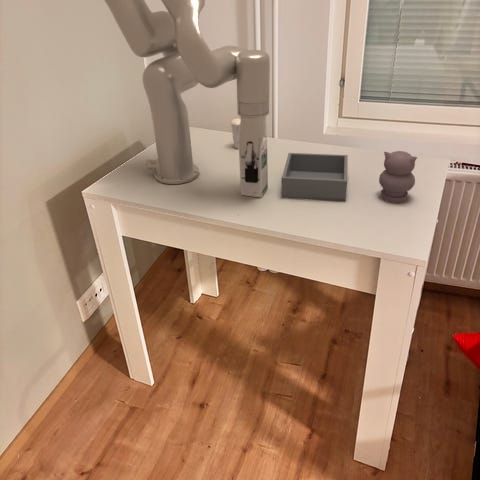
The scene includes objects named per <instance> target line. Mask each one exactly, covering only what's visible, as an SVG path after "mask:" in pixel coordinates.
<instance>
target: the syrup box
mask: <svg viewBox="0 0 480 480" xmlns="http://www.w3.org/2000/svg"><path fill="white" fill-rule="evenodd" d="M238 156H239V158H238V159H239V178H240V179H239V181H240V195H242V196H248V197H251V198H252V197H255V198H262V197H263V196H264V194H265V193H266V191H267V189H268V188H269V186H268V185H269V184H268V183H269V182H268V179H269V178H268V137H267V136H266V135H265V136H264V139H263V142H262V144H261V149H260V156H259V157H258V158H257V168H258V182H257V183H248V182H245V159H246V153H245V155H244V156H243V157H241V156H240V143H239V149H238ZM252 156H255V153H252ZM252 161H253V162H254V158H252Z"/></svg>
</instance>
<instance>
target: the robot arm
mask: <svg viewBox="0 0 480 480" xmlns="http://www.w3.org/2000/svg"><path fill="white" fill-rule="evenodd" d="M103 1H104V2H105V3H106V5H107V7H108V8H109V10H110V13H111V14H112V16H113V18H114V20H115V22H116V24H117V25H118V28H119V29H120V31H121V33H122V35H123V37H124V39H125V40H126V43H127V44H128V46H129V48H130V50H131V51H132V53H133V54H134V55H136V56H138V57H140V58H150V57H153V56H156V55H160V54H162V56H163V57H161V58H158V59H156V60H153V61H152V62H150V63H149V64H148V65H147V66H146V67H145V68H144V71H143V73H142V84H143V88H144V91H145V94H146V97H147V99H148V100H147V101H148V103H149V107H150V113H151V114H150V115H151V120H152V126H153V132H154V138H155V146H156V154H157V158H156V159H153V158H146V159H145V165H146V168H147V170H149V169H150V170H153V169H154V170H155V171H154V177H155V179H156V180H157V181H158V182H159V183H162V184H165V185H167V184H168V185H180V184H185V183H186V184H187V183H189V182H192V181H194V180H195V179H196V178H198V177H199V175H200V168H199V166H198V165H196V164H195V163H194V161H193V159H194V158H193V150H192V149H193V148H192V141H191V132H190V130H191V129H190V122H189V121H190V120H189V113H188V108H187V106H186V104H185V102H184V100H183V99H182V96H181V95H182V93H183V94H184V92H186V91H189V90H190V89H191V90H192V88H195V87H196V86H197V85H198V84H200V85H202V86H203V87H205V88H208V89H216V88H218V87H220V86H223V85H224V84H226V83H228V82H231V81H234V80H236V99H237V100H236V102H237V104H236V105H237V115H238V116H239V117H240V118H241V121H240V156H241V157H243V156H244V155H245V153H246V159H245V182H248V183H257V182H258V168H257V158H258V157H259V156H260V149H261V144H262V142H263V139H264V136H265V137H266V135H265V134H266V132H265V131H266V129H265V128H266V123H265V122H266V121H265V120H266V116H268V115H269V114H270V72H271V71H270V65H271V63H270V62H271V61H270V60H271V59H270V56H269V53H268V52H267V51H264V50H261V49H245V48H242V47H239V46H236V45H225V46H221V47H219V48H216V49H213V50H211V49H210V48H209V46H208V43H207V42H206V41H205V39H204V37H203V35H202V33H201V30H200V26H199V25H200V23H199V19H200V15H201V12H202V10H203V8H204V7H205V4H206V3H205V2H206V0H160V1H161V2H162V3H163V5H164V7H165V9H166V10H167V11H166V10H159V11H154V12H152V11H151V9H150V8H149V6H148V5H147V3H146V1H145V0H103ZM252 153H255V156H252ZM252 158H254V162H253V161H252Z"/></svg>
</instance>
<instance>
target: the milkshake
mask: <svg viewBox="0 0 480 480" xmlns="http://www.w3.org/2000/svg"><path fill="white" fill-rule="evenodd" d="M240 121H241V117H240V118H236V117H235V118H234V119H232V120H231V121H230V124H231V133H232V134H231V135H232V140H233V148H234V149H237V150H239V143H240Z"/></svg>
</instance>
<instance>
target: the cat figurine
mask: <svg viewBox="0 0 480 480" xmlns="http://www.w3.org/2000/svg"><path fill="white" fill-rule="evenodd" d="M383 153H384V162H383V166H384V170H383V171H382V172H381V173H380V174H379V178H378V183H379V185H380V186H381V188H382V189H381V191H380V198H381V199H382V200H383V201H385V202H388V203H391V204H393V203H394V204H399V203H400V204H401V203H404V202H405V201H407V199H408V194H409V193H408V192H409V191H410V190H412V189H413V187H414V186H415V185H416V180H415V179H416V178H415V175H414V174H413V173H412V172H413V170H414V169H415V166H416V161H417V159H418V157H417V156H413V155H412V154H411V153H409V152H406V151H402V150H395V151H392V152H388V151H383Z"/></svg>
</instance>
